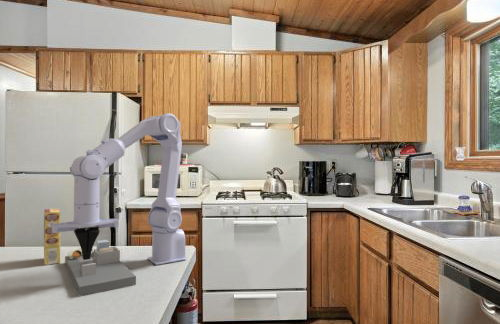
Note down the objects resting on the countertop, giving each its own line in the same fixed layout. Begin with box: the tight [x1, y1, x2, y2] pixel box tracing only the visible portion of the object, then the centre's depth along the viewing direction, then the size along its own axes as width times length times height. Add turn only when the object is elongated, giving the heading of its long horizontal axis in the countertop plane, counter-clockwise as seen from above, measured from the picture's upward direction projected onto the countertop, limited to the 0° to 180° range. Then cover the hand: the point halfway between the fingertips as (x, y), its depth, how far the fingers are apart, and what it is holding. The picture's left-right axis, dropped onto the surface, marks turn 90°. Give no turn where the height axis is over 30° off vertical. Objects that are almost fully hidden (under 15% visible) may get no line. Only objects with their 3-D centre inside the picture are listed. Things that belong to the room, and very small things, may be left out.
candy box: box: [43, 208, 62, 266], centre depth 96 cm, size 9×4×15 cm, turn 33°
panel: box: [64, 246, 137, 297], centre depth 85 cm, size 12×30×5 cm, turn 35°
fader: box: [96, 239, 110, 249], centre depth 96 cm, size 3×4×4 cm
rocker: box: [67, 247, 94, 259], centre depth 93 cm, size 6×4×1 cm
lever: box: [72, 249, 87, 265], centre depth 79 cm, size 2×3×6 cm
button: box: [99, 248, 114, 253], centre depth 89 cm, size 4×4×3 cm
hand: (86, 258), depth 79 cm, fingers closed
